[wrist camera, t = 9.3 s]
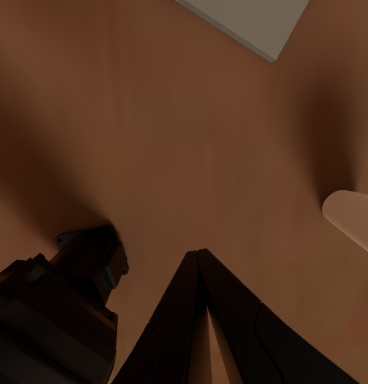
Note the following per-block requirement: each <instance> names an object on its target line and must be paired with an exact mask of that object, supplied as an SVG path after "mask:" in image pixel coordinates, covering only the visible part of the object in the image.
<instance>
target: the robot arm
mask: <svg viewBox="0 0 368 384" xmlns="http://www.w3.org/2000/svg"><path fill="white" fill-rule="evenodd" d="M108 228H109V229H111V231H109V230H108ZM60 238H61V239H62V240H61V239H60ZM55 241H56V243H57V245H58V247H59V249H60V251H59V252H58V253H57V254H56V255H55V256H54V257H53V258H52V259H51V260H50V261H47V260H46V259H45V256H44V255H42V254H41V253H39V254H38V255H37V256H35V257H34V258H33V259H32V258H29V259H28V260H26V261H25V260H16V261H15V262H13V263H12V264H11V265H9V266H8V267H7V268H6V269H4V270H3V271H2V272H1V273H0V384H107V383H108V381H109V378H110V376H111V373H112V370H113V367H114V363H115V357H116V340H117V323H118V315H117V314H116V313H115V312H111V311H110V310H109V309H107V308H106V307H105V305H106V303H107V300H108V298H109V296H110V293H111V291H112V289H116V287H117V285H118V283H119V280H120V278H121V275H125V274H127V273H128V271H129V267H128V264H127V257H126V254H125V251H124V248H123V246H122V243H121V242H120V241H119V239H118V236H117V234H116V231H115V228H114V226H112V225H104V226H99V227H94V228H89V229H84V230H79V231H74V232H69V233H64V234H59V235H58V236H57V237H56V238H55ZM124 270H126V271H124ZM207 307H208V310H207ZM208 311H209V315H210V318H211V321H212V325H213V328H214V332H215V335H216V338H217V342H218V345H219V348H220V352H221V355H222V359H223V362H224V365H225V369H226V372H227V375H228V379H229V382H230V384H360V383H358V382H357V381H356V380H355V379H353V378H352V377H351V376H350V375H348V374H347V373H346V372H345V371H343V370H342V369H341V368H340V367H338V366H337V365H336V364H335V363H333V362H332V361H331V360H329V359H328V358H327V357H326V356H324V355H323V354H322V353H321V352H319V351H318V350H317V349H316V348H314V347H313V346H312V345H311V344H309V343H308V342H307V341H306V340H304V339H303V338H302V337H301V336H300V335H298V334H297V333H296V332H295V331H294V330H292V329H291V328H290V327H289V326H288V325H287V324H285V323H284V322H283V321H282V320H281V319H280V318H279V317H278V316H277V315H276V314H274V313H273V312H272V311H271V310H270V309H269V308H268V307H267V306H266V305H265V304H264V303H262V302H261V300H260V299H259V298H258V297H257V296H256V295H255V294H254V293H252V292H251V291H250V290H249V289H248V288H247V287H246V286H245V285H244V284H243V283H242V282H241V281H240V280H239V279H238V278H237V277H236V276H235V275H234V274H233V273H232V272H231V271H230V270H229V269H228V268H227V267H225V266H224V265H223V264H222V263H221V262H220V261H219V260H218V259H217V258H216V257H215V256H214V255H213V254H212V253H211V252H210V251H209V250H208V249H206V248H205V249H199V250H197V251H196V250H194V251H189V252H187V253H186V254H185V256H184V258H183V260H182V262H181V264H180V265H179V267H178V269H177V271H176V273H175V275H174V276H173V278H172V280H171V282H170V284H169V285H168V287H167V289H166V291H165V293H164V295H163V296H162V298H161V300H160V302H159V304H158V306H157V307H156V309H155V311H154V313H153V315H152V317H151V318H150V320H149V322H150V323H148V324H147V325H146V327H145V329H144V331H143V333H142V335H141V336H140V338H139V340H138V341H137V343H136V345H135V347H134V348H133V350H132V352H131V353H130V355H129V357H128V358H127V360H126V361H125V363H124V364H123V366H122V367H121V369H120V371H119V372H118V374H117V375H116V377H115V378H114V380H113V381H112V383H111V384H212V375H211V358H210V341H209V324H208Z"/></svg>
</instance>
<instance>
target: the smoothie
mask: <svg viewBox="0 0 368 384" xmlns="http://www.w3.org/2000/svg"><path fill="white" fill-rule="evenodd" d="M322 213H323V215H324V217H325V218H326V219H327V220H329V221H330V222H331V223H332V224H334V225H335V226H336V227H338V228H339V229H340V230H341V231H343V232H344V233H345V234H346V235H348V236H349V237H350V238H351V239H353V240H354V241H355V242H356V243H358V244H359V245H360V246H361V247H363V248H364V249H365V250H366V251H368V195H367V194H362V193H357V192H352V191H347V190H339V191H336V192H334V193H332V194H331V195H329V196H328V197H327V198H326V200H325V201H324V203H323V206H322Z"/></svg>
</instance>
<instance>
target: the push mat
mask: <svg viewBox="0 0 368 384" xmlns="http://www.w3.org/2000/svg"><path fill="white" fill-rule="evenodd" d="M175 1H176V2H178V3H179V4H181V5H182V6H184V7H185V8H187V9H188V10H190V11H192V12H193V13H195V14H196V15H198V16H199V17H201V18H202V19H204V20H205V21H207V22H209V23H210V24H212V25H213V26H215V27H216V28H218V29H219V30H221V31H222V32H224V33H225V34H227V35H229V36H230V37H232V38H233V39H235V40H236V41H238V42H239V43H241V44H242V45H244V46H245V47H247V48H249V49H250V50H252V51H253V52H255V53H256V54H258V55H259V56H261V57H262V58H264V59H265V60H267V61H269V62H270V63H273V62H274V61H275V60H276V59H277V57H278V56H279V54H280V52H281V50H282V48H283V47H284V45H285V43H286V41H287V39H288V38H289V36H290V34H291V32H292V30H293V29H294V27H295V25H296V23H297V21H298V20H299V18H300V16H301V14H302V12H303V11H304V9H305V7H306V5H307V3H308V2H309V0H175Z"/></svg>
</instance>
